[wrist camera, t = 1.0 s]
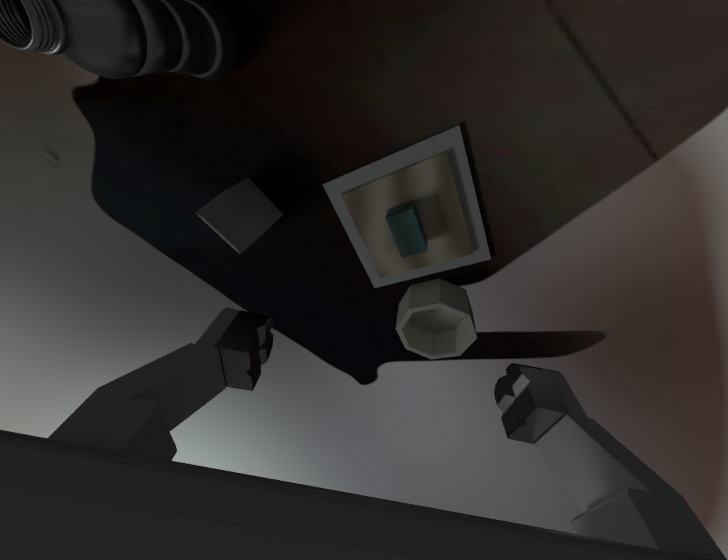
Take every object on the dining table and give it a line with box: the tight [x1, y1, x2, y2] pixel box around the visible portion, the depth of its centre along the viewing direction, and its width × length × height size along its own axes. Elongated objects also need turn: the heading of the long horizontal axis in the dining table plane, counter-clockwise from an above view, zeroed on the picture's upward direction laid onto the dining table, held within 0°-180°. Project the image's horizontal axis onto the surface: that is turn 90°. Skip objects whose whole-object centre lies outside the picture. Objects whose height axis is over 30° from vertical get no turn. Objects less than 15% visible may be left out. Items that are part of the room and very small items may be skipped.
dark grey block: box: [196, 178, 283, 254], centre depth 38 cm, size 4×7×10 cm, turn 41°
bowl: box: [396, 278, 477, 359], centre depth 45 cm, size 11×11×6 cm
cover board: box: [341, 151, 474, 278], centre depth 37 cm, size 14×14×4 cm
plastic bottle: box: [0, 0, 238, 80], centre depth 23 cm, size 6×7×20 cm
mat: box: [323, 125, 491, 288], centre depth 39 cm, size 18×18×1 cm
